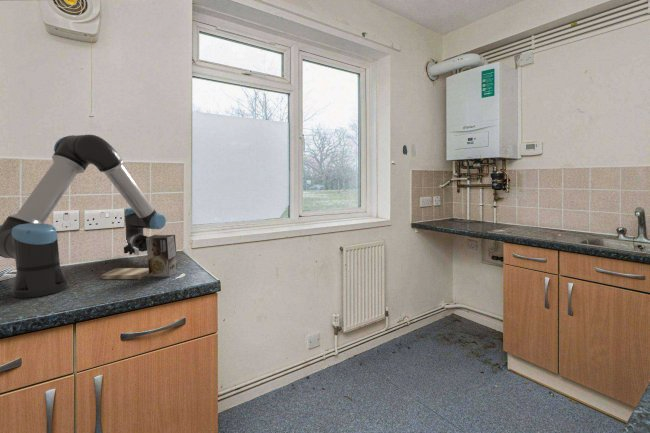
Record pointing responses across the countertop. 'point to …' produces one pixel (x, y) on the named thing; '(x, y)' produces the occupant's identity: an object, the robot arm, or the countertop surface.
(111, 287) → the countertop surface
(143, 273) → the birch board
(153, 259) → the coffee box
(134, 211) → the robot arm
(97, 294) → the countertop surface
